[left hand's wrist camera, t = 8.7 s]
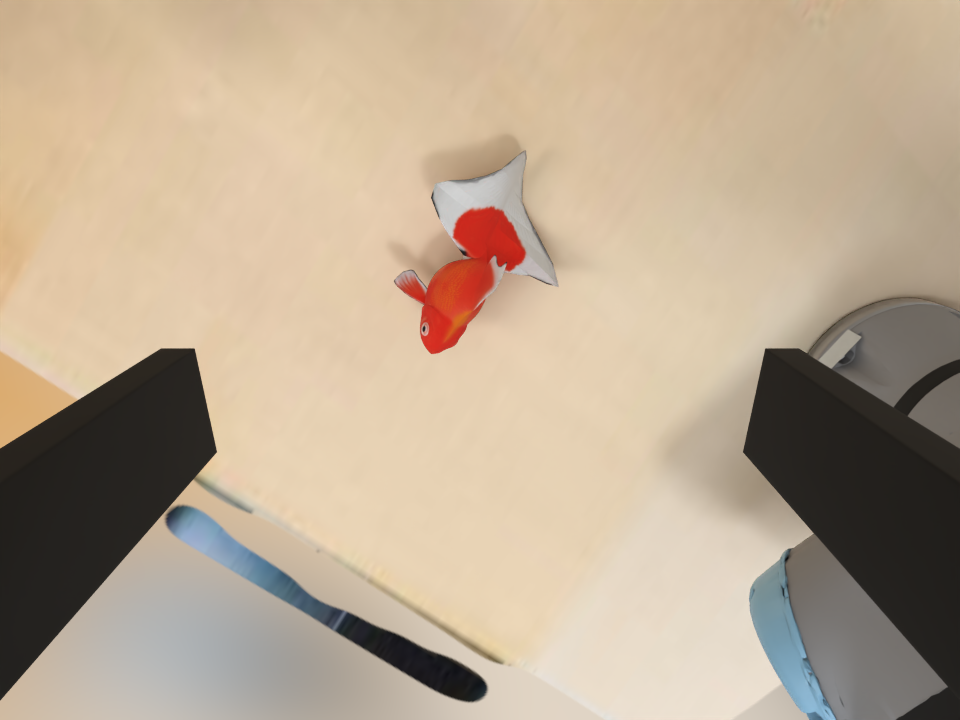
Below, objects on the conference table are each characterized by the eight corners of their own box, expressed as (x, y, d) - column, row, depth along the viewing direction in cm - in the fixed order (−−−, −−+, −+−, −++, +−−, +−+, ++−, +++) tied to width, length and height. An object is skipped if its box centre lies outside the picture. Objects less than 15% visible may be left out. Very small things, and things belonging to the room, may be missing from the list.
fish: (330, 272, 39) (381, 294, 31) (460, 122, 41) (540, 106, 33) (424, 356, 45) (487, 393, 37) (533, 222, 47) (615, 228, 39)
